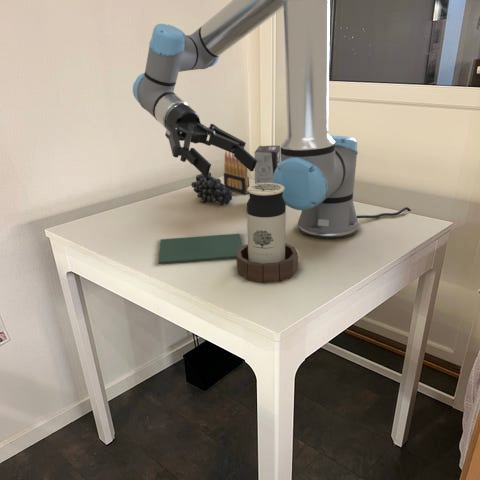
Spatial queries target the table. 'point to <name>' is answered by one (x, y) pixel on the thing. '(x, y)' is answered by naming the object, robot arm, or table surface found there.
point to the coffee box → (266, 163)
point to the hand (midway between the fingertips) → (232, 168)
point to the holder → (267, 266)
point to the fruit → (211, 189)
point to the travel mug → (266, 223)
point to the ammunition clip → (235, 175)
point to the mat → (199, 248)
